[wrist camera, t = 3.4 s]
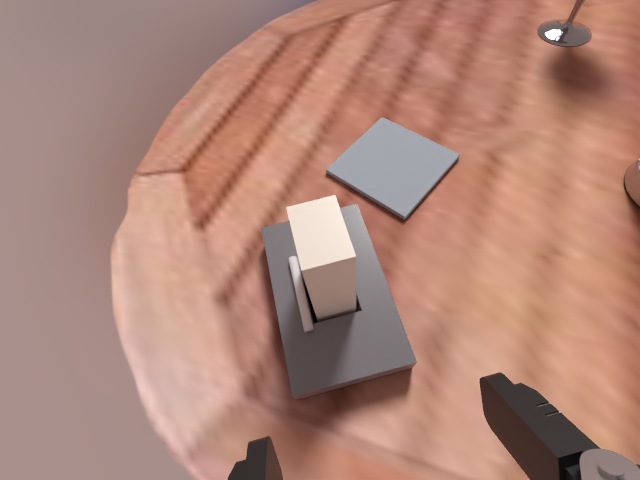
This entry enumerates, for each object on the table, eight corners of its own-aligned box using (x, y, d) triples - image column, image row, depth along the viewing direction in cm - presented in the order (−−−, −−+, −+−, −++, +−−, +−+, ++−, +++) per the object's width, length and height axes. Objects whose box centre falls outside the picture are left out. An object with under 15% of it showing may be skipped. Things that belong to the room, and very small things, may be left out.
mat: (458, 158, 40) (460, 154, 39) (404, 220, 36) (405, 216, 36) (381, 120, 44) (381, 117, 43) (326, 172, 40) (326, 169, 40)
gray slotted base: (412, 368, 29) (418, 360, 26) (297, 399, 28) (290, 395, 25) (356, 217, 37) (357, 199, 34) (267, 240, 36) (259, 223, 34)
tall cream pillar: (356, 316, 31) (356, 256, 21) (319, 326, 31) (301, 270, 21) (341, 269, 34) (335, 194, 24) (307, 278, 34) (286, 207, 23)
